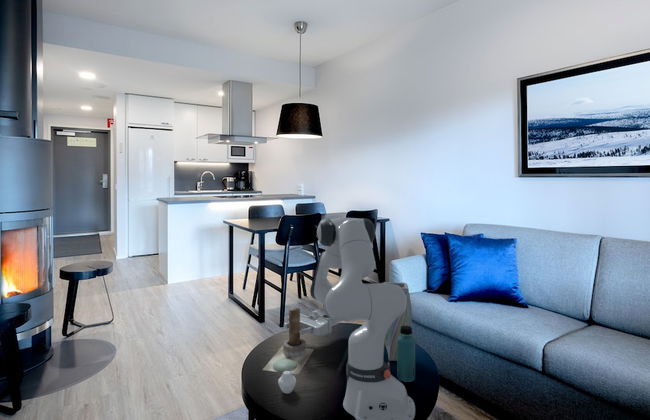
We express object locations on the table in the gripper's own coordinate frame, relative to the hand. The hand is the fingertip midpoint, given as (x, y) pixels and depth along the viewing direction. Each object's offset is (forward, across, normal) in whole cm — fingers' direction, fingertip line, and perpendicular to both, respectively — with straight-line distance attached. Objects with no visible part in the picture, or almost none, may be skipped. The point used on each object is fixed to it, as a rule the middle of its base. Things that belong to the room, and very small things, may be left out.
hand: (293, 329), depth 153 cm
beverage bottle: (-15, +44, +12) cm, 48 cm away
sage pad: (+10, +6, +10) cm, 15 cm away
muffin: (+19, +18, +12) cm, 29 cm away
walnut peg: (-1, 0, +10) cm, 10 cm away
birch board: (+4, +3, +12) cm, 13 cm away
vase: (-28, +31, +12) cm, 43 cm away
